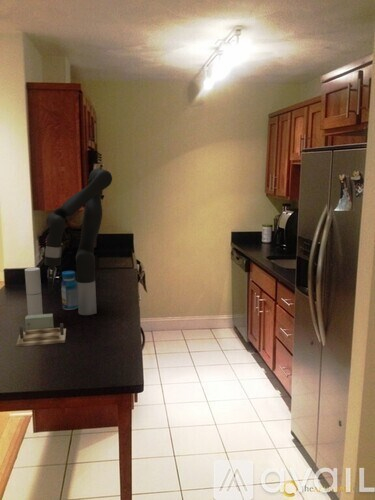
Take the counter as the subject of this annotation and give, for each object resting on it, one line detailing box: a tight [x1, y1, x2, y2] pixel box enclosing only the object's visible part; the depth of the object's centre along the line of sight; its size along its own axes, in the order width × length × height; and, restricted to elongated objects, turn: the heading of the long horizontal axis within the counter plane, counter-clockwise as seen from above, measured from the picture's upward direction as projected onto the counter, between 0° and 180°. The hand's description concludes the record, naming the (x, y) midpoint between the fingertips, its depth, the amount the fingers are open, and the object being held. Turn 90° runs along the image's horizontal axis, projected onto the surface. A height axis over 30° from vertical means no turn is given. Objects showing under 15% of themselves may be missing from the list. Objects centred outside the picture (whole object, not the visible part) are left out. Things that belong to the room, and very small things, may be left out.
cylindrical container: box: [24, 267, 44, 315], centre depth 222 cm, size 7×7×25 cm
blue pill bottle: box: [60, 270, 78, 311], centre depth 236 cm, size 8×8×20 cm
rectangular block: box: [24, 313, 55, 331], centre depth 205 cm, size 12×6×7 cm, turn 103°
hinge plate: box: [15, 322, 67, 348], centre depth 196 cm, size 20×14×6 cm
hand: (51, 287), depth 216 cm, fingers open, 8 cm apart
